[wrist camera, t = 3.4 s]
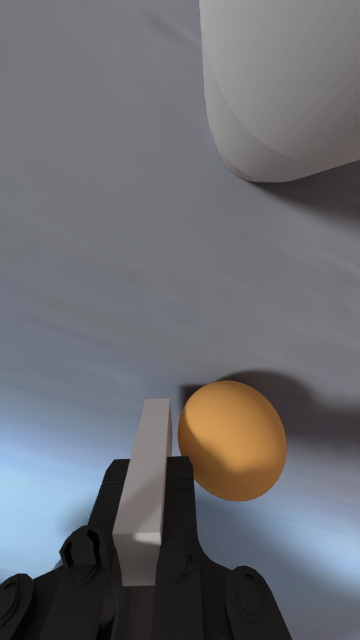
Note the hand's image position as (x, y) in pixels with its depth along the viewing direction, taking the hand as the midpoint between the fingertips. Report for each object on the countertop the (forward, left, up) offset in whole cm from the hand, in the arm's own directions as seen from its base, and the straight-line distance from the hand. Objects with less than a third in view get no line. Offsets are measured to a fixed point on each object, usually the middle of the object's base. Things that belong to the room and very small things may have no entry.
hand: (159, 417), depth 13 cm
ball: (0, -4, +1) cm, 4 cm away
